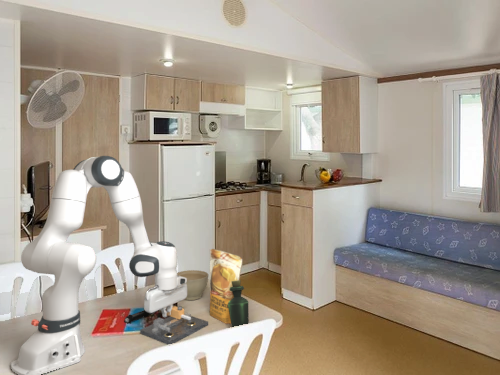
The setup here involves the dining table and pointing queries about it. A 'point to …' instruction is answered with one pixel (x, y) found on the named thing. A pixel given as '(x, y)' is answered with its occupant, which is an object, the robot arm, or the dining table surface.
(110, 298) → the dining table surface
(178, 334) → the bolt plate
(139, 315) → the electric trimmer
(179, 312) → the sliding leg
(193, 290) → the planter bowl
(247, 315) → the potion bottle
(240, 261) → the pancake mix bag
